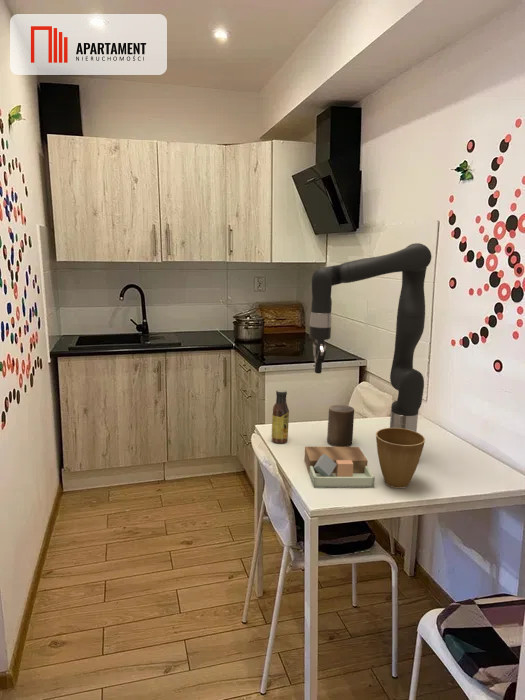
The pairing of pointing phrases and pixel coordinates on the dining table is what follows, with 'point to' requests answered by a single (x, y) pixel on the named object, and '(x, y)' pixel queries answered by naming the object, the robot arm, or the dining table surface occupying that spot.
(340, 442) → the pillar candle
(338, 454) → the brown wooden block
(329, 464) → the grey block
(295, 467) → the dining table surface
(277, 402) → the sauce bottle
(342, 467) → the pink square block
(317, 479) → the sage tray
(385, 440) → the plant pot
